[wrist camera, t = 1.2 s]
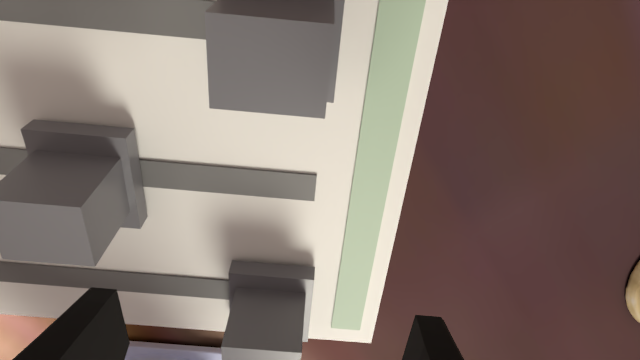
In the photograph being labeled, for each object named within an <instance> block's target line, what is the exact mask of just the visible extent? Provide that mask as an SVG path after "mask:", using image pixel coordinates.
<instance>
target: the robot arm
mask: <svg viewBox="0 0 640 360" xmlns="http://www.w3.org/2000/svg"><path fill="white" fill-rule="evenodd" d="M13 360H222V354H221V348H216V347H203V346H190V345H177V344H165V343H152V342H139V341H129V338H128V334H127V330H126V325H125V321H124V317H123V313H122V309H121V305H120V301H119V296H118V292H117V289H106V288H95V287H91V288H90V289H88V290H87V291H86V292H85V293H84V294H83V295H82V296H81V297H80V298H79V299H78V300H77V301H75V302H74V303H73V304H72V305H71V306H70V307H69V308H68V309H67V310H66V311H65V312H64V313H63V314H62V315H61V316H60V317H59V318H58V319H56V320H55V321H54V322H53V323H52V324H51V325H50V326H49V327H48V328H47V329H46V330H45V331H44V332H43V333H41V334H40V335H39V336H38V337H37V338H36V339H35V340H34V341H33V342H32V343H30V344H29V345H28V346H27V347H26V348H25V349H24V350H23V351H22V352H20V353H19V354H18V355H17V356H16V357H15V358H14V359H13ZM402 360H464V359H463V357H462V355H461V353H460V351H459V349H458V348H457V346H456V344H455V342H454V340H453V338H452V336H451V334H450V332H449V330H448V328H447V326H446V324H445V322H444V320H443V319H442V318H441V317H433V316H421V315H415V318H414V322H413V325H412V328H411V332H410V335H409V338H408V342H407V345H406V348H405V352H404V355H403V358H402Z"/></svg>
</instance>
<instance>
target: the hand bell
mask: <svg viewBox="0 0 640 360" xmlns="http://www.w3.org/2000/svg"><path fill="white" fill-rule="evenodd" d="M625 296H626V302H627V307H628V309H629V311H630V313H631V314H632V316H633V317H634V318H635V319H636V320H637V321H638V322H639V323H640V260H639V262H638V263H637V264H636V266H635V268H634V270H633V271H632V273H631V275H630V279H629V281H628V285H627V287H626V295H625Z"/></svg>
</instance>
